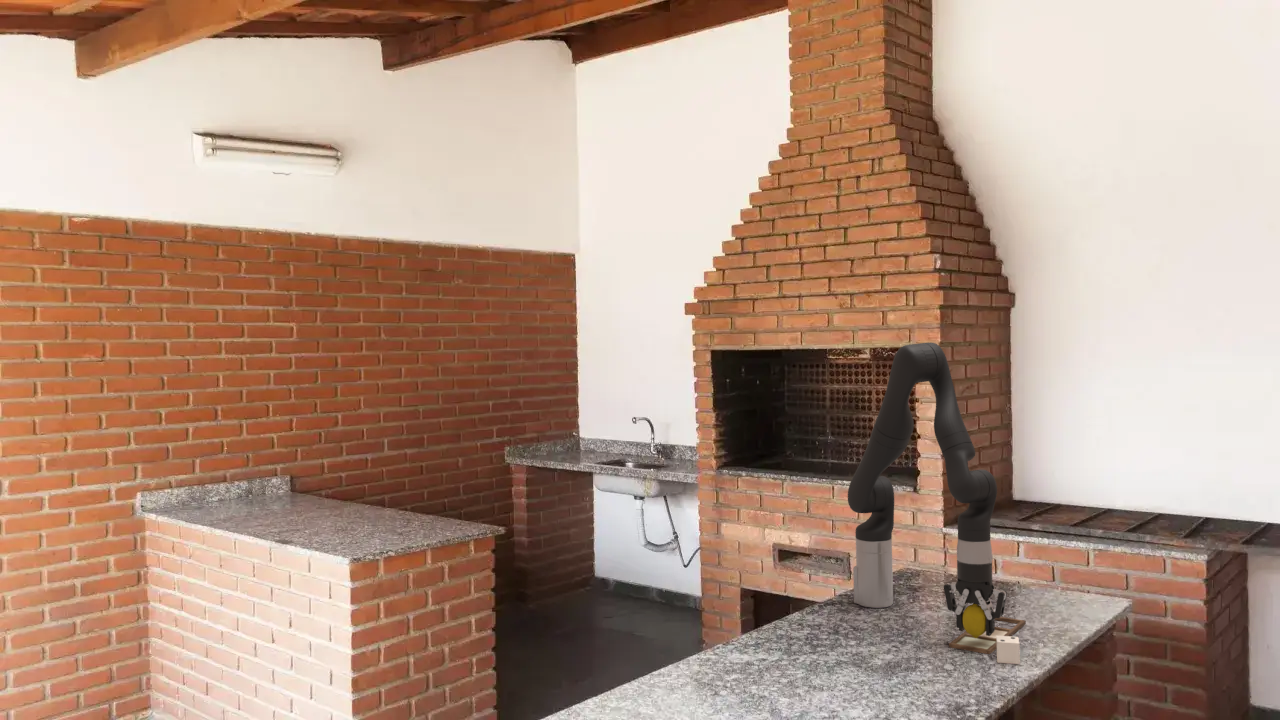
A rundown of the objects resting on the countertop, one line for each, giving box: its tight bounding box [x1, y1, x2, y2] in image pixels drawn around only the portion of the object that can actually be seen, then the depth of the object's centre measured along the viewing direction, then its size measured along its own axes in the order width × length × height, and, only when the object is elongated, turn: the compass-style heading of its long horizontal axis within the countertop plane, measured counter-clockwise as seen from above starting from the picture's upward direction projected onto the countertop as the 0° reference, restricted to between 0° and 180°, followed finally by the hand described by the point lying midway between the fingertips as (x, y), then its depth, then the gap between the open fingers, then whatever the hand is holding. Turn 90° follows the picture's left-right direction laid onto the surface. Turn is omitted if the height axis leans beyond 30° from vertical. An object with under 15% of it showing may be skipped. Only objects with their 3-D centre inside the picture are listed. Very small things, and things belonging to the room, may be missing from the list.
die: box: [996, 635, 1021, 665], centre depth 214 cm, size 4×4×5 cm
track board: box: [948, 616, 1027, 655], centre depth 231 cm, size 9×26×1 cm, turn 142°
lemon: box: [962, 603, 987, 638], centre depth 224 cm, size 6×6×8 cm
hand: (975, 632), depth 225 cm, fingers closed on lemon, 5 cm apart
